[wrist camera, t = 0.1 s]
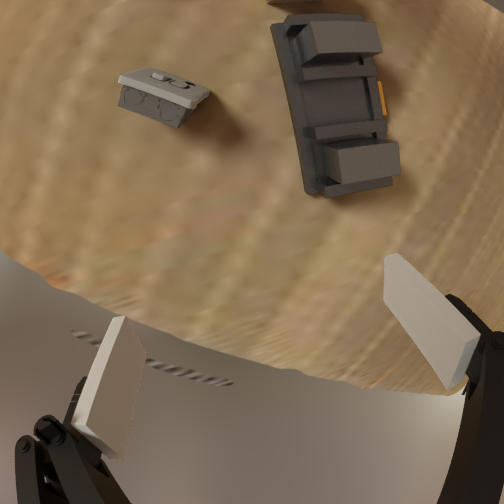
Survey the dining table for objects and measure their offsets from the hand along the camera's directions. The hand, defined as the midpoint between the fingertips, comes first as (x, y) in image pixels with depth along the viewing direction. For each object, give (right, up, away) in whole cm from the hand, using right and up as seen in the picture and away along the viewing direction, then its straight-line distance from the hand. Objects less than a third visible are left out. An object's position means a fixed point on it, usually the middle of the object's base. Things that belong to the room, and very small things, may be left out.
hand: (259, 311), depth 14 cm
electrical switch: (-11, +23, +20) cm, 32 cm away
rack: (+11, +23, +21) cm, 33 cm away
